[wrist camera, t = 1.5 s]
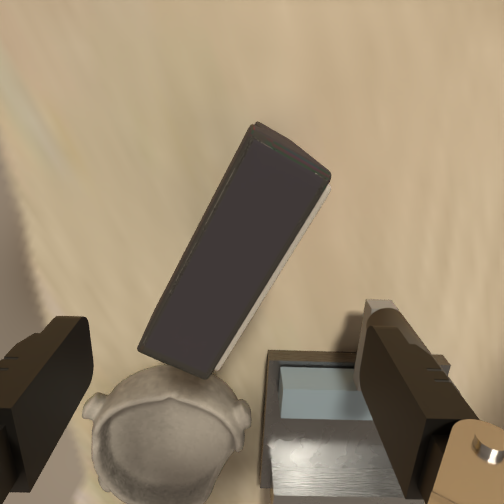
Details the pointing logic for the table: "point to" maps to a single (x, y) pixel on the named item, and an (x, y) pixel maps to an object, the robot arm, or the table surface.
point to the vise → (323, 446)
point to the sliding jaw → (339, 375)
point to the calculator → (236, 252)
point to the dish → (165, 435)
